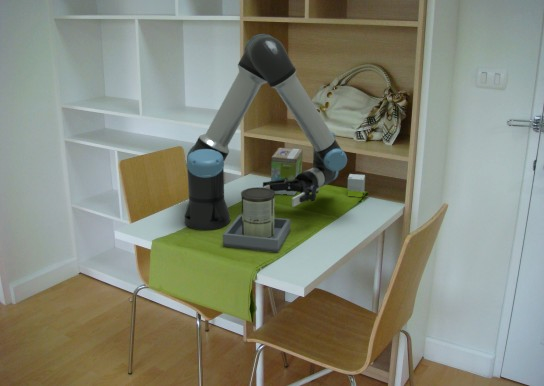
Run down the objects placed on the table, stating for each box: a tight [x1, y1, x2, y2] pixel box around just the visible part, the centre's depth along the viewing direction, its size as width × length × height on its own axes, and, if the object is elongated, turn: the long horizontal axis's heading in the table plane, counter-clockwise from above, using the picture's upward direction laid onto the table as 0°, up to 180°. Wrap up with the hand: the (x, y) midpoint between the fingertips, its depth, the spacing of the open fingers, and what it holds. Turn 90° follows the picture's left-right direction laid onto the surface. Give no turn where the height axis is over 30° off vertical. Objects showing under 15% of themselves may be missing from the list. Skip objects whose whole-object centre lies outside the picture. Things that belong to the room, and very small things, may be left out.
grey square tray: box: [222, 213, 292, 253], centre depth 175 cm, size 17×17×4 cm
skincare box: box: [346, 173, 366, 193], centre depth 214 cm, size 6×6×7 cm
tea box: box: [270, 147, 303, 196], centre depth 219 cm, size 15×10×15 cm
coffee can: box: [240, 186, 276, 238], centre depth 173 cm, size 10×10×14 cm
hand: (274, 198), depth 180 cm, fingers open, 13 cm apart
